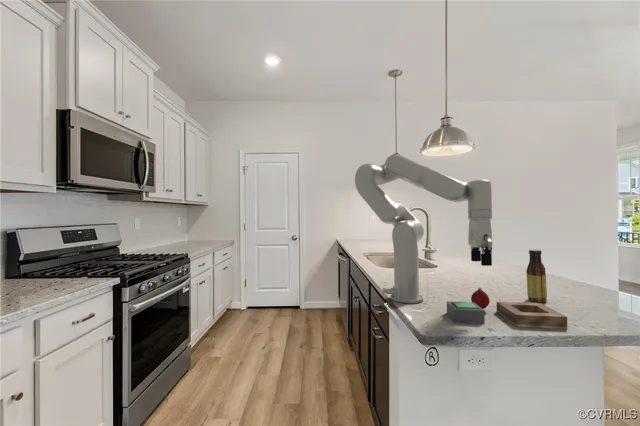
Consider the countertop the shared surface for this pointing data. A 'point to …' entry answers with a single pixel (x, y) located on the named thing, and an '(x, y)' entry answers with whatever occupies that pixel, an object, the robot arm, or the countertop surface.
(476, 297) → the onion
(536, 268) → the sauce bottle
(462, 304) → the button
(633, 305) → the countertop surface
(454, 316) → the button housing
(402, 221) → the robot arm
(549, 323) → the open box
